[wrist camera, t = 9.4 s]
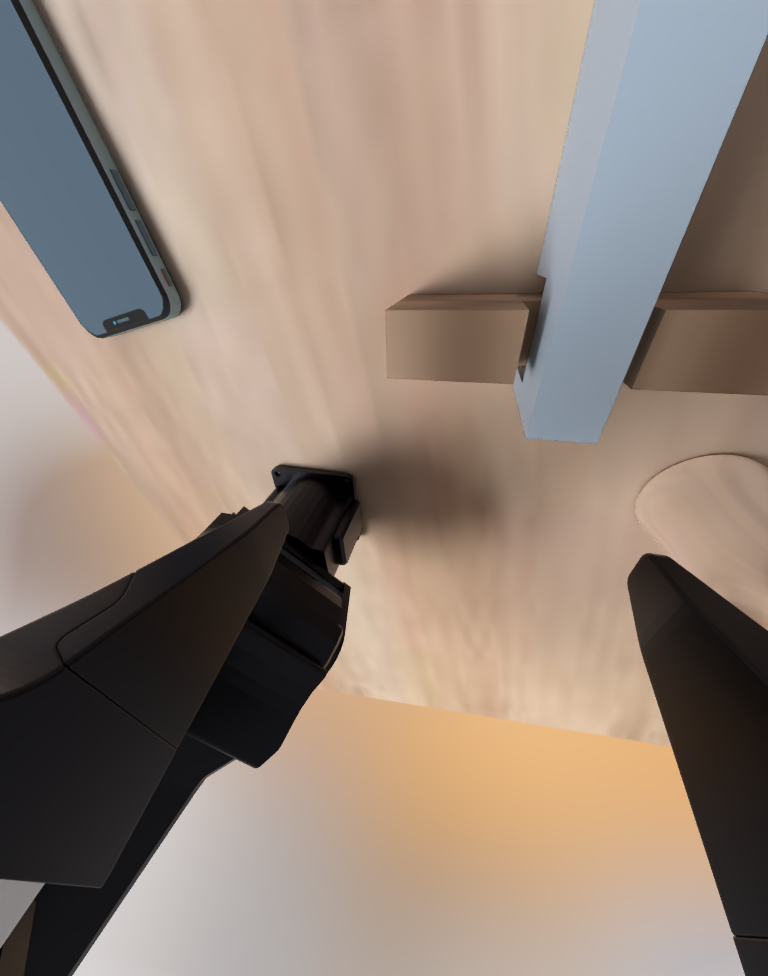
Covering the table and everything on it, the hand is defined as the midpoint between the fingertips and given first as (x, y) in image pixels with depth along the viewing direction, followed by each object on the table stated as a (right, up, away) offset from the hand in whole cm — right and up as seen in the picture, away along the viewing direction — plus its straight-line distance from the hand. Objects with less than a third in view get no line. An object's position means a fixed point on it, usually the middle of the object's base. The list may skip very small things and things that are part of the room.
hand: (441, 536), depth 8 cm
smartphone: (-18, +18, +8) cm, 27 cm away
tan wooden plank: (+7, +9, +7) cm, 13 cm away
